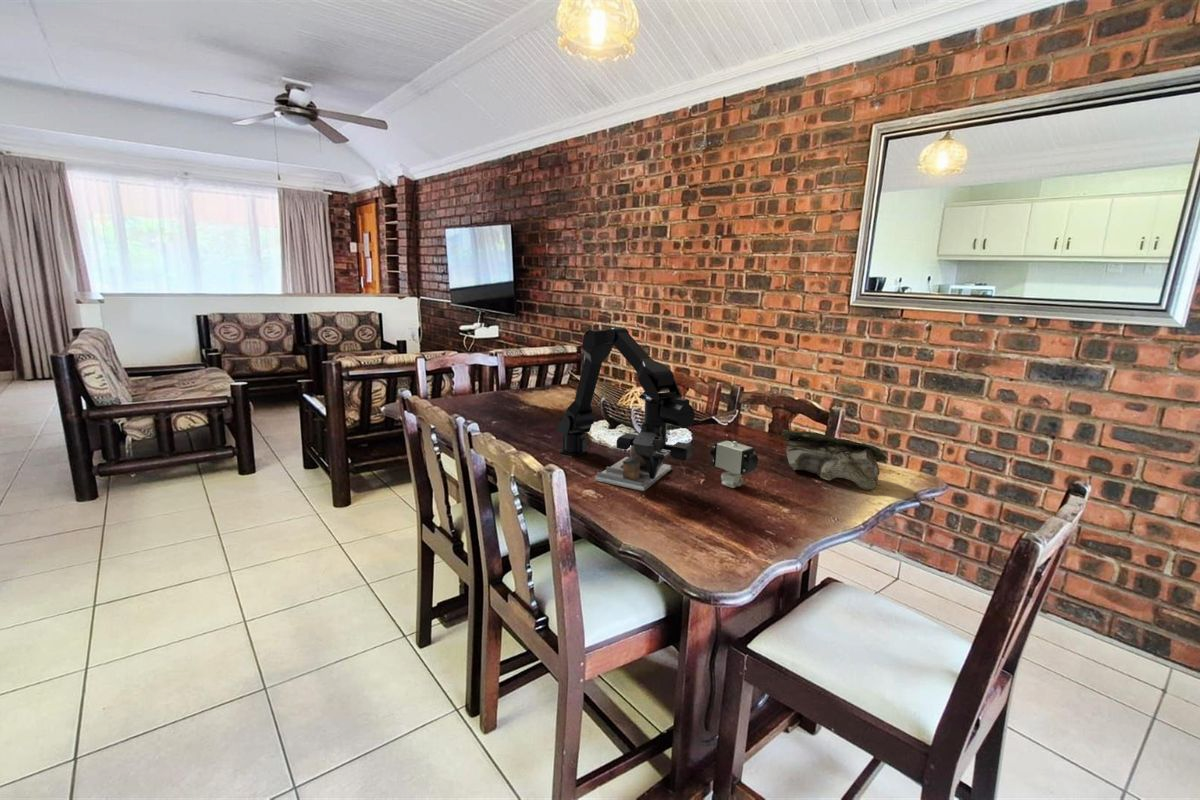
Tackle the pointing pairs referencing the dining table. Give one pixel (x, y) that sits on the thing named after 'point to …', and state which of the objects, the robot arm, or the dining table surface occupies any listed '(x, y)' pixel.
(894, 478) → the dining table surface
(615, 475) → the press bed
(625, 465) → the brown block
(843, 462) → the hollow geode rock
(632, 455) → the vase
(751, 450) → the pneumatic valve
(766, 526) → the dining table surface
